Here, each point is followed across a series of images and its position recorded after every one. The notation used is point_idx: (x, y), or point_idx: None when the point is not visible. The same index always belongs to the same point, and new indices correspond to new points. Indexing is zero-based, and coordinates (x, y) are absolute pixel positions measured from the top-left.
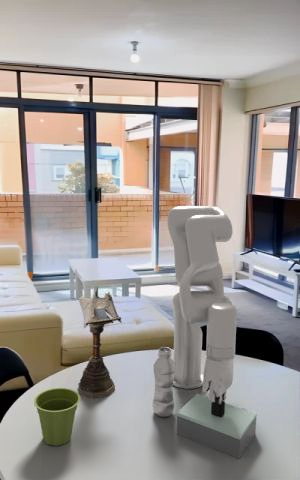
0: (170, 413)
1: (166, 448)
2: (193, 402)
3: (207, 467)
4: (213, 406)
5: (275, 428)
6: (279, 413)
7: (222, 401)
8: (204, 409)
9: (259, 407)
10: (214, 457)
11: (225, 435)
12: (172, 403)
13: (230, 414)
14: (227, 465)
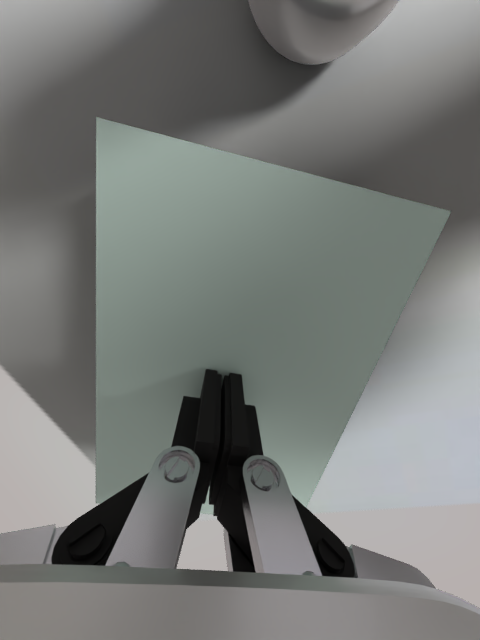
0: (277, 49)
1: (13, 148)
2: (308, 217)
3: (28, 347)
4: (175, 430)
5: (331, 476)
6: (416, 477)
7: (218, 505)
8: (243, 317)
9: (446, 429)
10: (94, 356)
11: None
12: (321, 6)
13: None
14: (82, 398)
